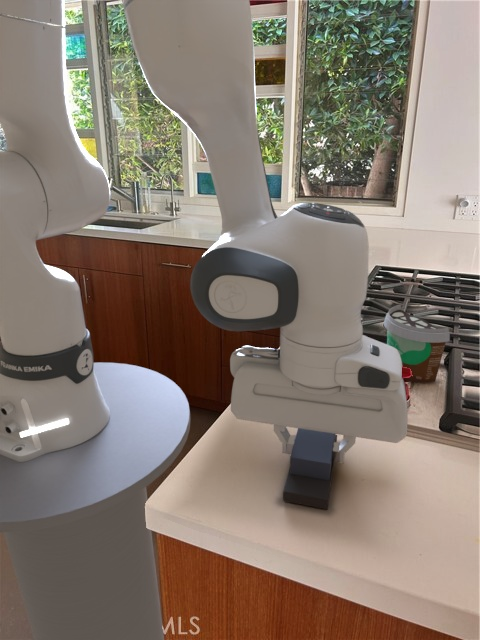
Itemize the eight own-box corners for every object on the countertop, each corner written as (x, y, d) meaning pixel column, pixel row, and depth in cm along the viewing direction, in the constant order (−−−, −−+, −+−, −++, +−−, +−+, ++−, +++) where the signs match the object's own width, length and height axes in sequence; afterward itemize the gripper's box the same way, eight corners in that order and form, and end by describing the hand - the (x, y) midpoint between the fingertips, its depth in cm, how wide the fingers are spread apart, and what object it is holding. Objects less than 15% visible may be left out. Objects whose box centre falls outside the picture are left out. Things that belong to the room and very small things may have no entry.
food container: (364, 360, 84) (369, 308, 80) (392, 354, 86) (399, 303, 82) (411, 393, 73) (419, 335, 69) (441, 385, 75) (451, 329, 71)
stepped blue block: (327, 509, 51) (329, 482, 49) (282, 501, 52) (283, 474, 51) (336, 443, 62) (338, 419, 60) (299, 437, 63) (300, 413, 61)
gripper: (221, 356, 51) (224, 457, 56) (417, 379, 46) (400, 488, 51) (237, 333, 57) (238, 427, 62) (413, 351, 52) (398, 452, 57)
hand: (313, 455), depth 57 cm, fingers closed on stepped blue block, 4 cm apart
